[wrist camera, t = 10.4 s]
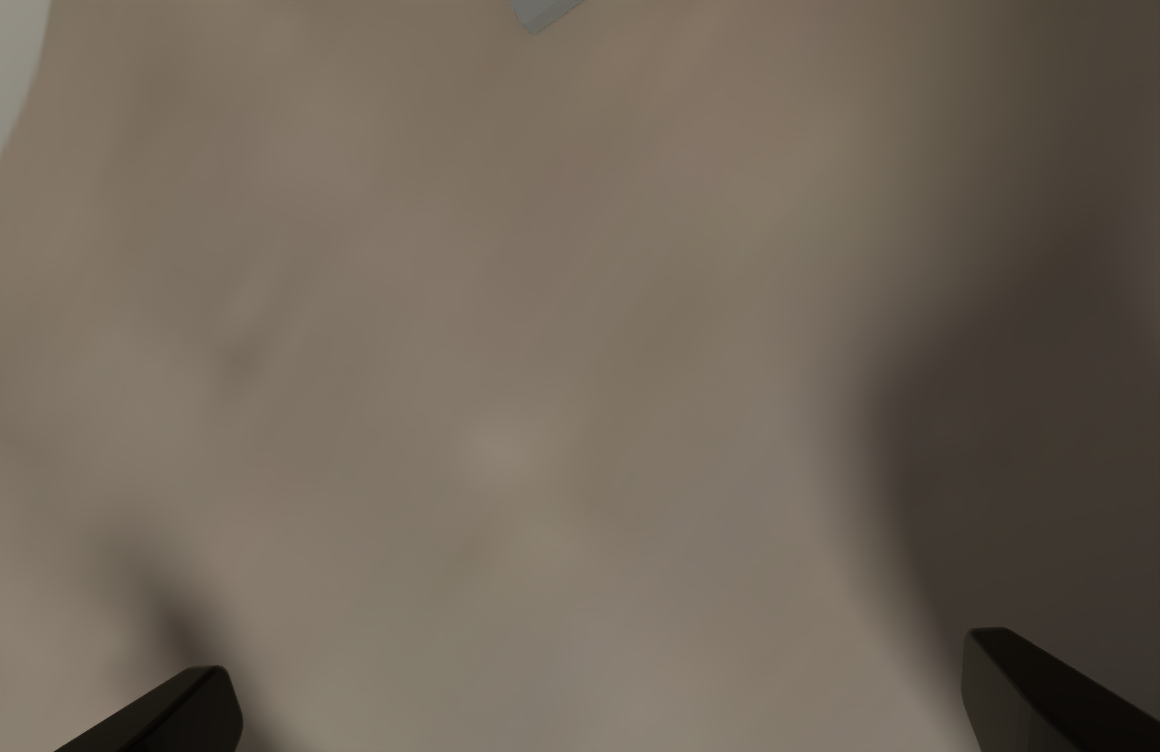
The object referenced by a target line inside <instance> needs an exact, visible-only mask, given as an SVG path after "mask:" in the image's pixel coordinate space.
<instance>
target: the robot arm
mask: <svg viewBox="0 0 1160 752" xmlns="http://www.w3.org/2000/svg"><path fill="white" fill-rule="evenodd" d="M961 692H962V698H963V703H964V706H965V709H966V712H967V715H968V717H969V720H970V723H971V725H972V728H973V730H974V733H975V736H976V738H977V741H978V744H979V746H980V749H981V751H982V752H1160V721H1159V720H1158V719H1156V718H1154V717H1153V716H1151V715H1149V714H1148V713H1146V712H1144V711H1143V710H1141V709H1140V708H1138V707H1136V706H1135V705H1133V704H1131V703H1130V702H1128V701H1126V700H1125V699H1123V698H1121V697H1120V696H1118V695H1117V694H1115V693H1113V692H1112V691H1110V690H1108V689H1107V688H1105V687H1103V686H1102V685H1100V684H1099V683H1097V682H1095V681H1094V680H1092V679H1090V678H1089V677H1087V676H1085V675H1084V674H1082V673H1080V672H1079V671H1077V670H1076V669H1074V668H1072V667H1071V666H1069V665H1067V664H1066V663H1064V662H1062V661H1061V660H1059V659H1058V658H1056V657H1054V656H1053V655H1051V654H1049V653H1048V652H1046V651H1044V650H1043V649H1041V648H1039V647H1038V646H1036V645H1035V644H1033V643H1031V642H1030V641H1028V640H1026V639H1025V638H1023V637H1021V636H1020V635H1018V634H1016V633H1015V632H1013V631H1011V630H1009V629H1007V628H1004V627H987V628H972V629H970V630H968V631H967V632H966V634H965V637H964V643H963V661H962V679H961ZM242 729H243V715H242V711H241V708H240V705H239V702H238V700H237V697H236V694H235V691H234V688H233V685H232V682H231V679H230V676H229V673H228V671H227V670H226V669H225V668H224V667H223V666H220V665H205V666H193V667H189V668H187V669H185V670H183V671H182V672H180V673H179V674H177V675H175V676H174V677H172V678H171V679H169V680H167V681H166V682H164V683H163V684H161V685H159V686H158V687H156V688H155V689H153V690H151V691H150V692H148V693H147V694H145V695H143V696H142V697H140V698H139V699H137V700H135V701H134V702H132V703H131V704H129V705H127V706H126V707H124V708H123V709H121V710H119V711H118V712H116V713H115V714H113V715H111V716H110V717H108V718H107V719H105V720H103V721H102V722H100V723H99V724H97V725H95V726H94V727H92V728H91V729H89V730H87V731H86V732H84V733H83V734H81V735H79V736H78V737H76V738H75V739H73V740H71V741H70V742H68V743H67V744H65V745H63V746H62V747H60V748H59V749H57V750H55V751H54V752H235V751H236V748H237V746H238V743H239V740H240V738H241V734H242Z"/></svg>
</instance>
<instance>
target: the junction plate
mask: <svg viewBox="0 0 1160 752" xmlns="http://www.w3.org/2000/svg"><path fill="white" fill-rule="evenodd" d="M582 1H583V0H509V2H510V4H511V6H512V7H513V9H514V11H515V13H516V15H517V17H518V19H519V20H520V22H521V24H522V26H523V27H524V28H525V29H527V30H528V31H529V32H530V33H531V34H533V35H535V34H536V33H537V32H539V31H540V30H542V29H543V28H545V27H546V26H547V25H549V24H550V23H552V22H553V21H555V20H556V19H557V18H559V17H560V16H562V15H563V14H565V13H566V12H567V11H569V10H570V9H572V8H573V7H575V6H576V5H577V4H579V3H580V2H582Z"/></svg>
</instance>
